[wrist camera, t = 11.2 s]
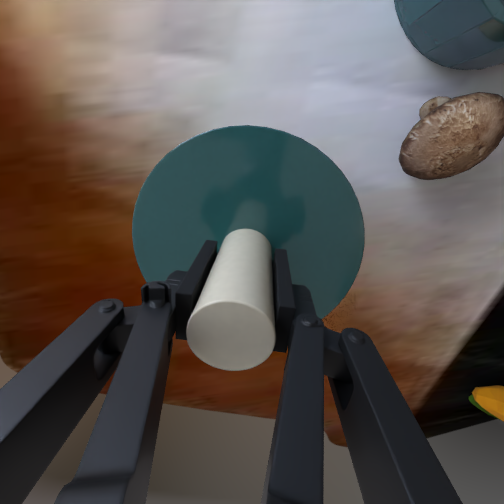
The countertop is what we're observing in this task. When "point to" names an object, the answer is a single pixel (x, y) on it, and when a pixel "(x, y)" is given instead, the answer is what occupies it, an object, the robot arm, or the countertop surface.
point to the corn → (489, 400)
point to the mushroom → (453, 135)
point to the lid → (248, 233)
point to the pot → (455, 31)
